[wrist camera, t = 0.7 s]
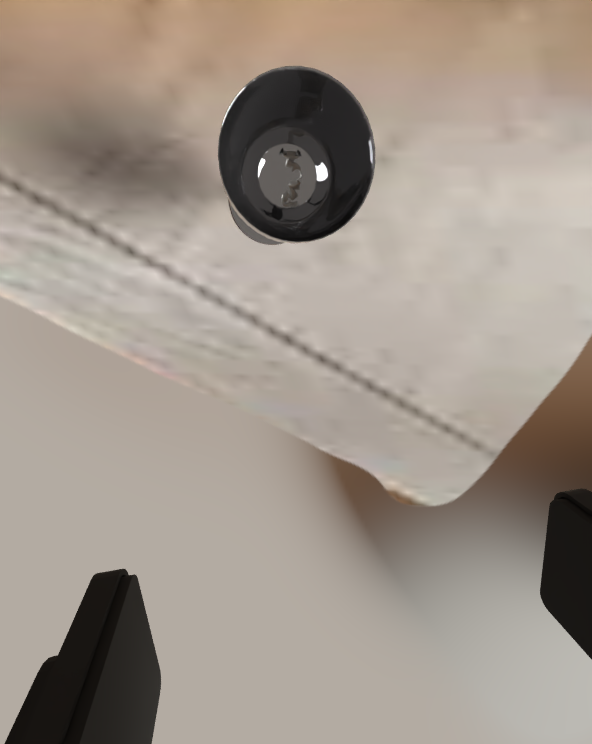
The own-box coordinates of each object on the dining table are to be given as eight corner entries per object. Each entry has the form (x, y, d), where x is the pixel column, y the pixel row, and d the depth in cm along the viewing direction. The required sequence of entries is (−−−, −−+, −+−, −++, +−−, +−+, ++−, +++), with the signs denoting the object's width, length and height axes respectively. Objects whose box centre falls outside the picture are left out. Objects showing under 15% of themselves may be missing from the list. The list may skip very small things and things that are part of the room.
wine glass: (204, 191, 33) (182, 140, 19) (277, 127, 33) (311, 25, 19) (266, 268, 36) (287, 274, 21) (335, 209, 35) (405, 175, 21)
